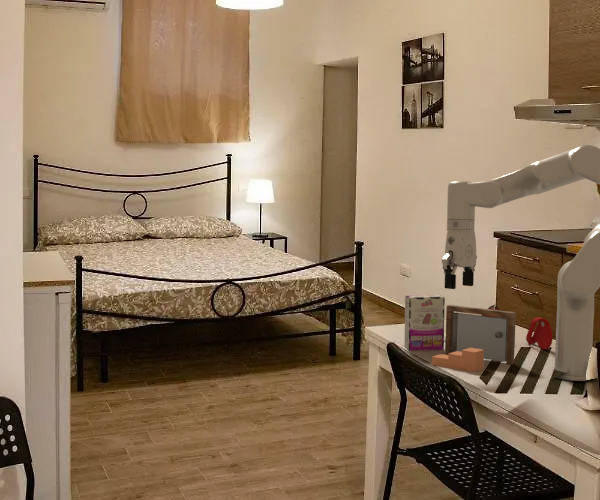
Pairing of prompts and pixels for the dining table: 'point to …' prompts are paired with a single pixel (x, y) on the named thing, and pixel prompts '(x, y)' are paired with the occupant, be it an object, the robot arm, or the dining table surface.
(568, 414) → the dining table surface
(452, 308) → the brown door frame
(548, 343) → the tracker holder
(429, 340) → the candy bar box
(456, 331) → the door
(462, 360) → the orange stepped block
